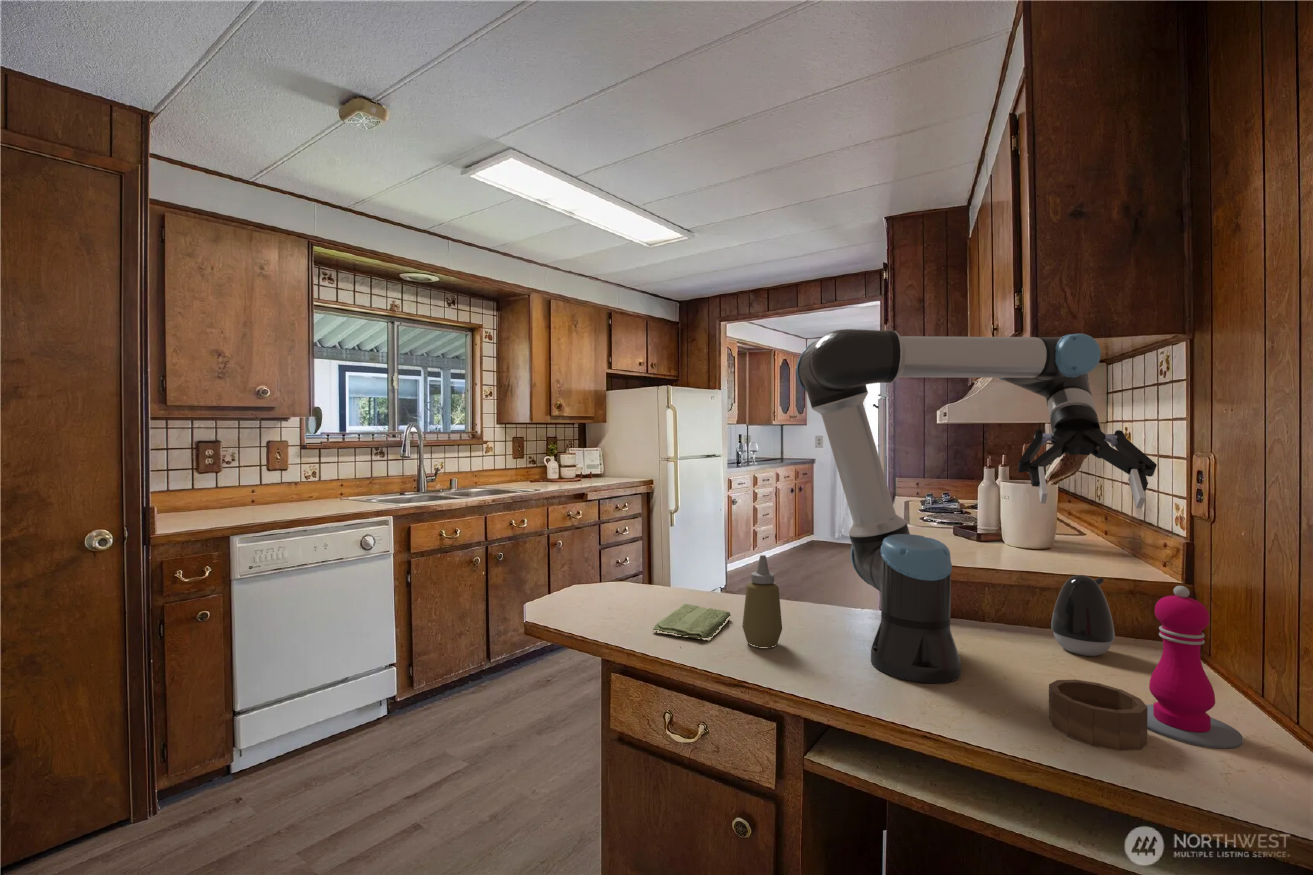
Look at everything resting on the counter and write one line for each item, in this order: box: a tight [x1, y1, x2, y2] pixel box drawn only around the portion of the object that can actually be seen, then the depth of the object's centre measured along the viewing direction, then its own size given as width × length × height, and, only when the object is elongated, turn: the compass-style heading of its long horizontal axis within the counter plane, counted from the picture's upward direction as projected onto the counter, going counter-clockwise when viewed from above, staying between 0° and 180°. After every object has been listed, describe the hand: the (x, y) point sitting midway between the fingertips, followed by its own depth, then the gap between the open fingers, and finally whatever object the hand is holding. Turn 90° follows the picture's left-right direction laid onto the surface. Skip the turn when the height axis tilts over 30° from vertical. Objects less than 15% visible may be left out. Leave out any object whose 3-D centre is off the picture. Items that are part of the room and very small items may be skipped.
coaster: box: [1145, 704, 1244, 750], centre depth 85 cm, size 12×12×1 cm
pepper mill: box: [1148, 585, 1216, 732], centre depth 86 cm, size 7×7×20 cm
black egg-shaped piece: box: [1050, 574, 1115, 657], centre depth 116 cm, size 10×10×15 cm
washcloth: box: [652, 603, 732, 640], centre depth 129 cm, size 13×18×3 cm
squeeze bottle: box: [742, 554, 783, 647], centre depth 118 cm, size 8×8×18 cm
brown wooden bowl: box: [1048, 679, 1148, 751], centre depth 84 cm, size 11×11×5 cm
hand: (1091, 501), depth 100 cm, fingers open, 13 cm apart
